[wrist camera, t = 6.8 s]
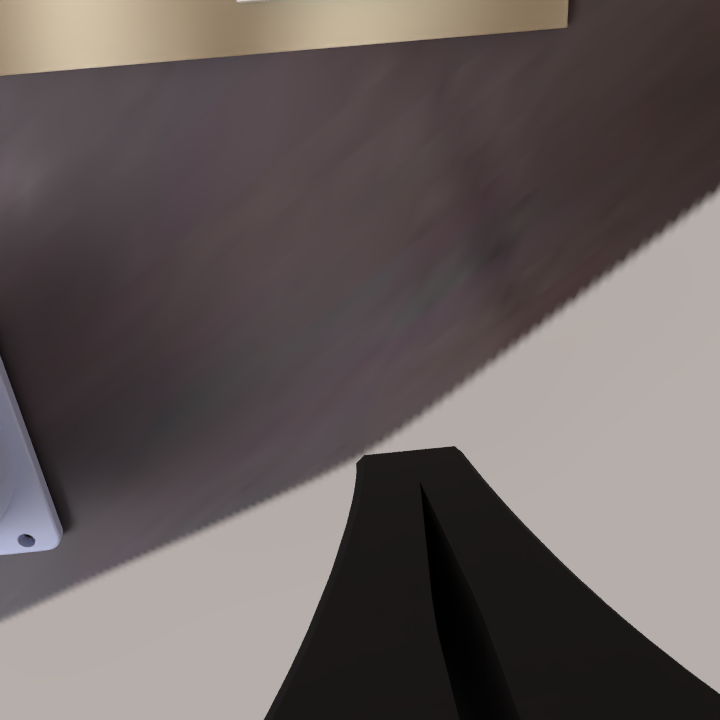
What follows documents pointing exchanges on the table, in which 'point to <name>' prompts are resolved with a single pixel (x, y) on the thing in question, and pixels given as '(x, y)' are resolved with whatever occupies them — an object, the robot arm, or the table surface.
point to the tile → (254, 1)
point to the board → (239, 27)
